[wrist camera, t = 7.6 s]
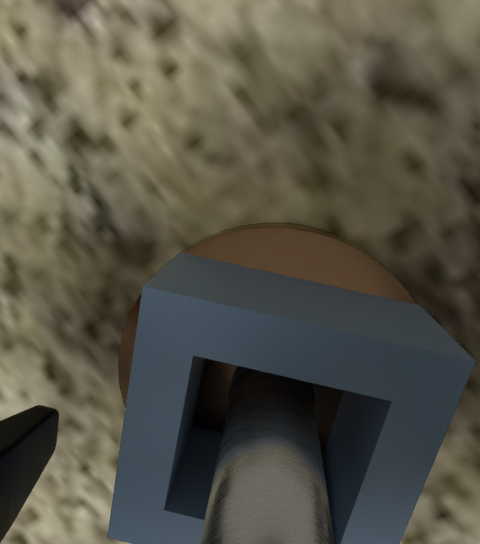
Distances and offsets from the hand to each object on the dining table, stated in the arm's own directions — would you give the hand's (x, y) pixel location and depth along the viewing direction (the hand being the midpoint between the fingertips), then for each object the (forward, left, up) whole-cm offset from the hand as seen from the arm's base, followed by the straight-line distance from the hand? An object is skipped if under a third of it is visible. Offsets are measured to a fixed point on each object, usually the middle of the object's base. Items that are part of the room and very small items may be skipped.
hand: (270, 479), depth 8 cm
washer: (0, 0, -4) cm, 4 cm away
